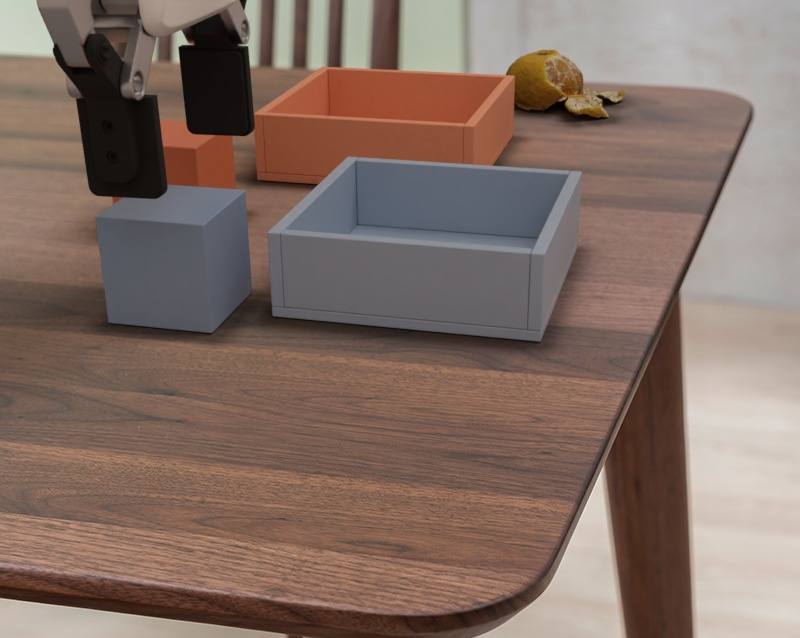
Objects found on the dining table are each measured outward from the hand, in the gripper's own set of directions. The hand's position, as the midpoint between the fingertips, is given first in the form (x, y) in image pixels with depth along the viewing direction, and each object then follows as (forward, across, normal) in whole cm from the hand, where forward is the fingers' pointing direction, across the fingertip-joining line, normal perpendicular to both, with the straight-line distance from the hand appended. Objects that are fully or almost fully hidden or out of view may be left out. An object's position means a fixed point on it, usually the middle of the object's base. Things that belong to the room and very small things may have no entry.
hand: (178, 162), depth 54 cm
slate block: (+7, 0, -1) cm, 7 cm away
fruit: (+7, -41, +11) cm, 43 cm away
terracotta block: (+7, -11, -6) cm, 14 cm away
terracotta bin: (+7, -26, +2) cm, 27 cm away
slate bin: (+7, -6, +10) cm, 14 cm away
